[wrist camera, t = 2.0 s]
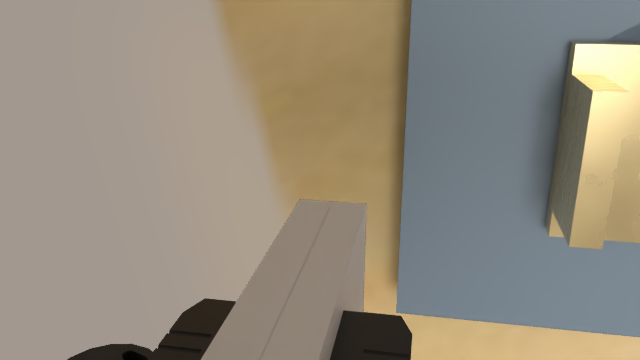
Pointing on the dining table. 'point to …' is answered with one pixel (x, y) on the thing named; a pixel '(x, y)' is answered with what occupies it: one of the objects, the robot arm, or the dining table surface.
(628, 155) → the brass cover
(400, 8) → the dining table surface
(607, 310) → the grey flat board
